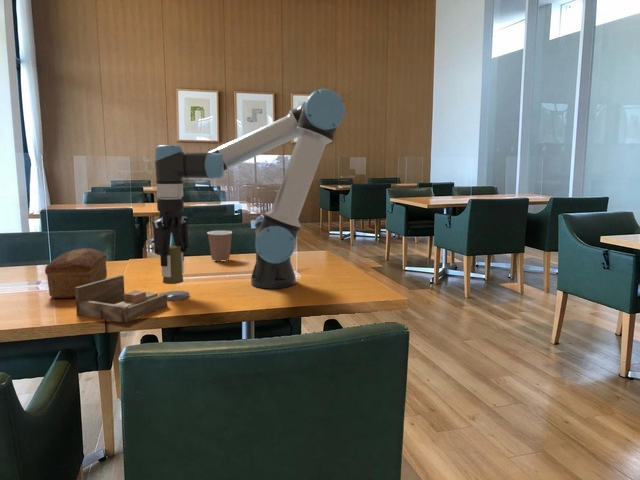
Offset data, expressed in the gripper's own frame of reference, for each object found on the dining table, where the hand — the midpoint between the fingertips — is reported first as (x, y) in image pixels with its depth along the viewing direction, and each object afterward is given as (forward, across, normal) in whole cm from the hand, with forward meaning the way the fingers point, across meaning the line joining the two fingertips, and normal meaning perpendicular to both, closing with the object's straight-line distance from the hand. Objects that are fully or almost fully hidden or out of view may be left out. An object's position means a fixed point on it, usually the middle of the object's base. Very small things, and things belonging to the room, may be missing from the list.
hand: (173, 274), depth 147 cm
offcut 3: (+7, +12, +1) cm, 14 cm away
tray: (+7, +17, -4) cm, 19 cm away
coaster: (+7, 0, 0) cm, 7 cm away
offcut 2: (+7, +17, +1) cm, 18 cm away
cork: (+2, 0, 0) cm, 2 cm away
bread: (+7, +5, -34) cm, 35 cm away
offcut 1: (+7, +21, +1) cm, 22 cm away
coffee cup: (+7, -53, -19) cm, 57 cm away
